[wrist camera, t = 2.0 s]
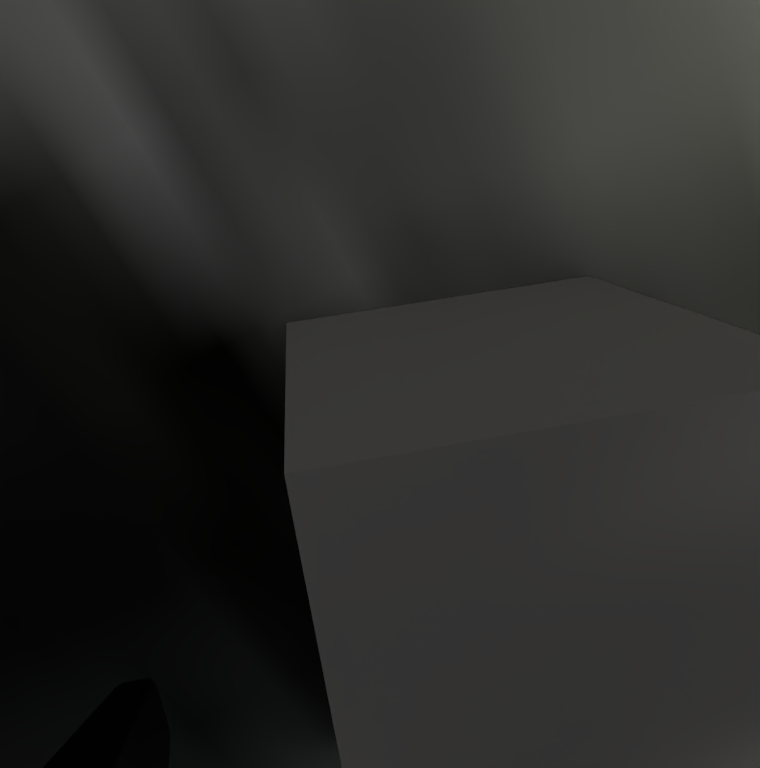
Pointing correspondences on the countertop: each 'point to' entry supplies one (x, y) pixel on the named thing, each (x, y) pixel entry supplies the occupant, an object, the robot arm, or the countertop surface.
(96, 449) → the countertop surface
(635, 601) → the block
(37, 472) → the countertop surface
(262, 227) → the countertop surface
